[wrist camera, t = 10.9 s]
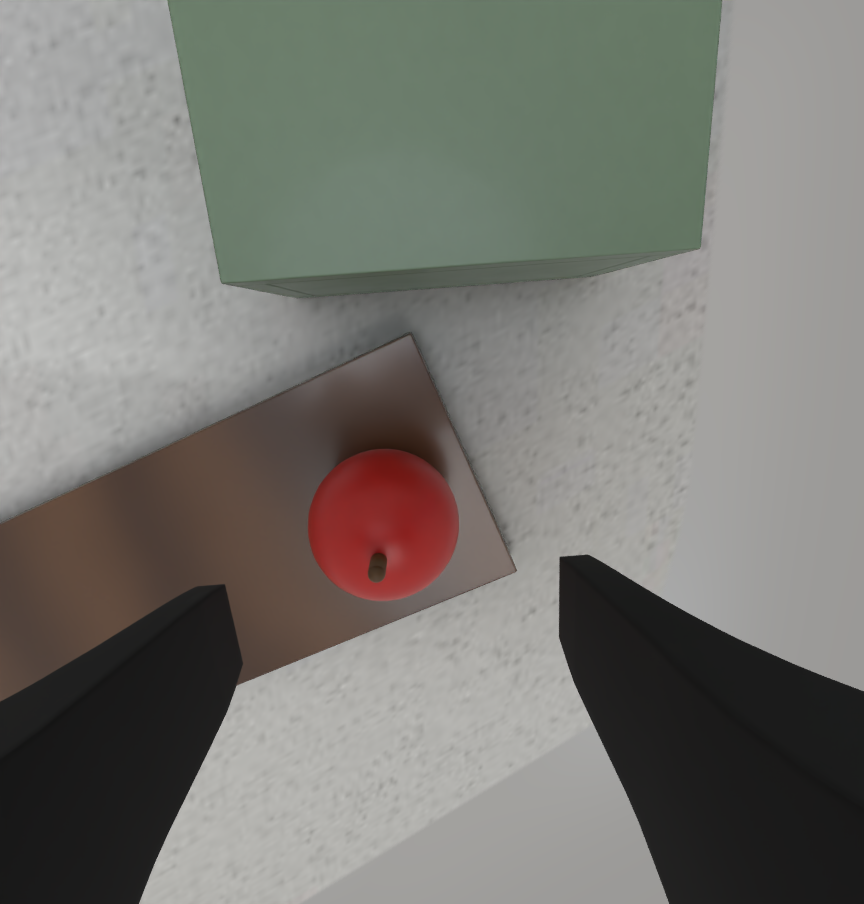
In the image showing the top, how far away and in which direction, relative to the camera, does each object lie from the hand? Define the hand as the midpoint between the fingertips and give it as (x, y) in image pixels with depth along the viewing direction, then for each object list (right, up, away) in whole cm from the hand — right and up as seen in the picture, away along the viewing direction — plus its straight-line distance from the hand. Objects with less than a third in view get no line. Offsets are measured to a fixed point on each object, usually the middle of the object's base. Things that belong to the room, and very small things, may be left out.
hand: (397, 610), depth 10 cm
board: (-16, -5, +12) cm, 20 cm away
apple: (-1, +2, +9) cm, 9 cm away
